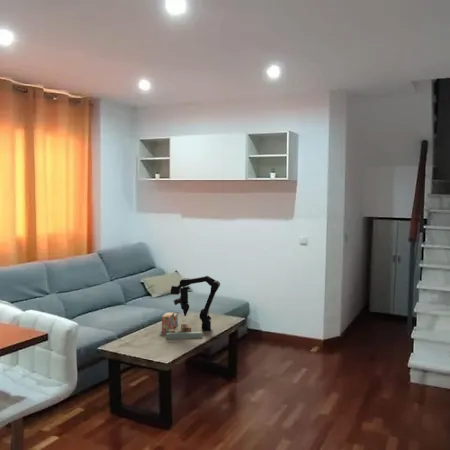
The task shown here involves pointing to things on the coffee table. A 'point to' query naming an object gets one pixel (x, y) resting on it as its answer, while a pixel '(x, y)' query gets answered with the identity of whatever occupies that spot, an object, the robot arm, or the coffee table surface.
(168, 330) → the oak cube
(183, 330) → the walnut brick
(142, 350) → the coffee table surface
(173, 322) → the stack of blocks
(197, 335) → the board
